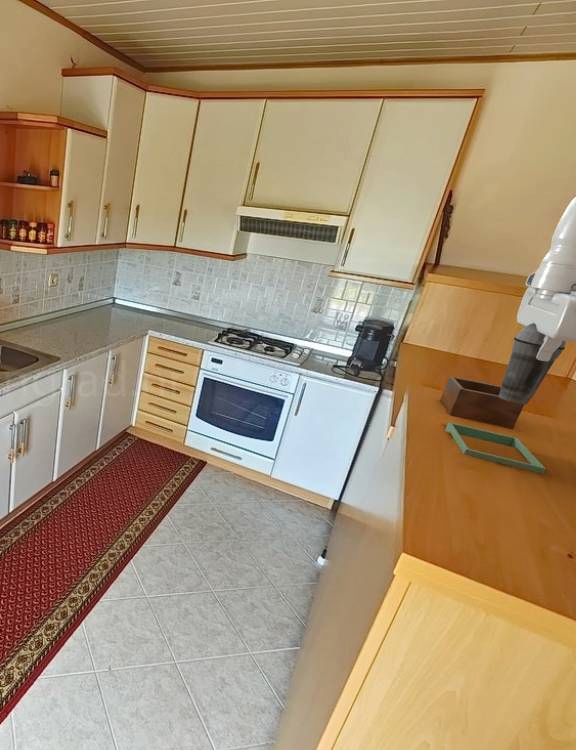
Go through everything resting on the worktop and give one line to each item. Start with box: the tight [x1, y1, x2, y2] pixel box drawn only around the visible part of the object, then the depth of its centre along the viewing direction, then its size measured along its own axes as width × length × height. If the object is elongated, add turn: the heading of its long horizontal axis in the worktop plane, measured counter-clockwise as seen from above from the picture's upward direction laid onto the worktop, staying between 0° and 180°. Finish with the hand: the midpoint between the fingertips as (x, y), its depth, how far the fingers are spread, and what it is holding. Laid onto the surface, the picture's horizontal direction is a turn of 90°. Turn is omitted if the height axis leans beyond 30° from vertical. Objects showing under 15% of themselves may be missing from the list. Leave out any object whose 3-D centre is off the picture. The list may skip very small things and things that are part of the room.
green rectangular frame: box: [444, 421, 547, 475], centre depth 100 cm, size 12×16×2 cm
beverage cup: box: [498, 323, 567, 405], centre depth 92 cm, size 7×7×20 cm
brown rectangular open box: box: [439, 375, 526, 430], centre depth 123 cm, size 13×13×7 cm
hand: (533, 355), depth 93 cm, fingers closed on beverage cup, 6 cm apart
